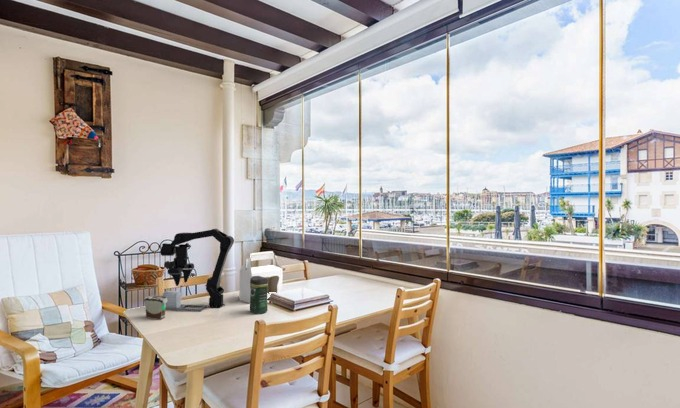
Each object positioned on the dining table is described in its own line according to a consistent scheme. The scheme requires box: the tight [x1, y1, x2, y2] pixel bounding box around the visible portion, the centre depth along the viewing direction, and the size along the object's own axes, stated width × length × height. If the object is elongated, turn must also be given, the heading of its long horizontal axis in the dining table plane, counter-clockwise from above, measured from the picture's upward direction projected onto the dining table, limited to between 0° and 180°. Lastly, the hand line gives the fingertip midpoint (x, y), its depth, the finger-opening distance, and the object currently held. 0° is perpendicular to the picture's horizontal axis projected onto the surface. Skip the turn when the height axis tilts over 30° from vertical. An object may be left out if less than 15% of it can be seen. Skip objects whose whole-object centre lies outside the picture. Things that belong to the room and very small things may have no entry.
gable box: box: [238, 250, 284, 304], centre depth 219 cm, size 22×13×28 cm, turn 136°
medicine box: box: [162, 290, 182, 308], centre depth 195 cm, size 8×4×9 cm, turn 85°
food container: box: [143, 294, 168, 321], centre depth 180 cm, size 12×6×10 cm, turn 71°
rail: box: [165, 303, 208, 313], centre depth 195 cm, size 24×8×1 cm, turn 85°
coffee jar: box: [249, 276, 268, 315], centre depth 191 cm, size 10×8×19 cm
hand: (181, 284), depth 200 cm, fingers open, 9 cm apart
